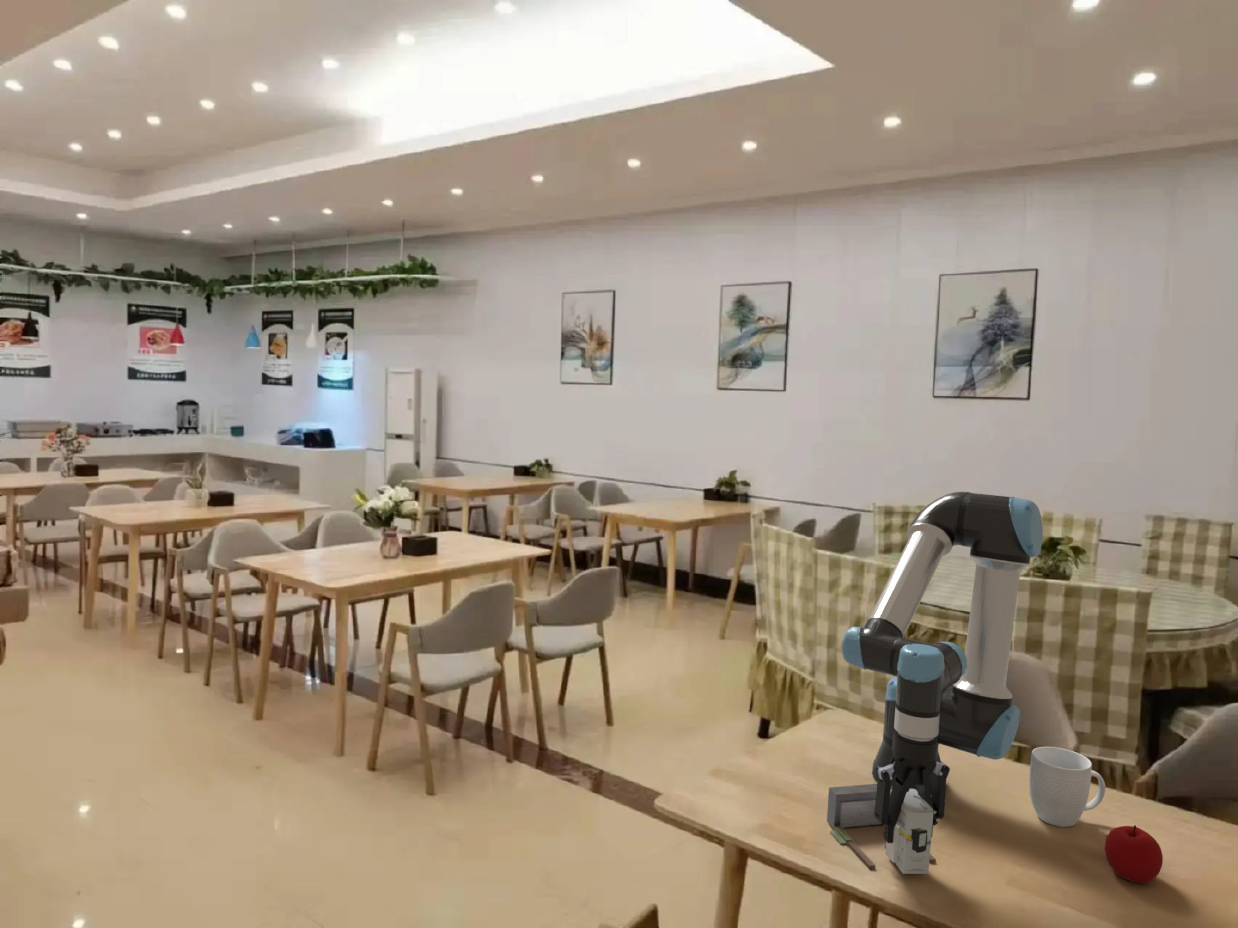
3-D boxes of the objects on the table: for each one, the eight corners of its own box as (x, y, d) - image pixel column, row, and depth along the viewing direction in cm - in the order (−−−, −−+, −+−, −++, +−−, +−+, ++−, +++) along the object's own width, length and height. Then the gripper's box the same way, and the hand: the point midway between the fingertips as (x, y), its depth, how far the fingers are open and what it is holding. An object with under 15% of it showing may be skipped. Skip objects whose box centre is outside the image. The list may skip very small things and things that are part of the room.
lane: (900, 822, 173) (900, 819, 173) (941, 861, 160) (941, 857, 160) (827, 829, 170) (827, 825, 170) (863, 869, 156) (863, 865, 156)
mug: (1085, 806, 183) (1091, 747, 182) (1116, 834, 172) (1123, 771, 171) (1015, 805, 183) (1021, 745, 181) (1043, 832, 172) (1049, 769, 170)
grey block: (885, 815, 176) (888, 782, 175) (895, 824, 173) (897, 791, 172) (826, 821, 173) (829, 787, 172) (835, 830, 170) (837, 796, 169)
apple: (1173, 887, 155) (1179, 833, 154) (1132, 894, 152) (1138, 839, 151) (1129, 859, 163) (1134, 808, 162) (1090, 865, 161) (1095, 813, 160)
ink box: (883, 848, 161) (888, 787, 160) (909, 847, 162) (913, 787, 161) (902, 874, 153) (907, 810, 152) (929, 874, 153) (934, 810, 152)
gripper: (948, 721, 160) (939, 840, 163) (858, 727, 156) (849, 850, 159) (974, 738, 153) (963, 863, 156) (880, 745, 149) (871, 873, 151)
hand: (906, 856), depth 157 cm, fingers closed on ink box, 5 cm apart
